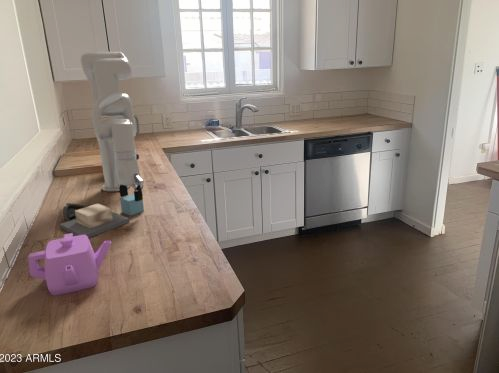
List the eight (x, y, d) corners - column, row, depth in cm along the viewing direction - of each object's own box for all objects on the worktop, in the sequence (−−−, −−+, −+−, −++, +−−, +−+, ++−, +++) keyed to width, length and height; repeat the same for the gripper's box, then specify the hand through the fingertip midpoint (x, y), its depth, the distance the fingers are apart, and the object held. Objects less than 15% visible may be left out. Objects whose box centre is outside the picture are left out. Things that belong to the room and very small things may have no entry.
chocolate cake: (89, 210, 159) (62, 196, 151) (98, 209, 154) (71, 194, 147) (78, 232, 154) (50, 218, 147) (87, 231, 150) (59, 217, 142)
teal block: (134, 207, 159) (133, 193, 157) (143, 211, 155) (142, 196, 153) (121, 212, 155) (120, 198, 153) (130, 215, 151) (129, 201, 149)
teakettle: (73, 260, 119) (65, 222, 115) (119, 269, 113) (113, 230, 109) (24, 291, 104) (14, 249, 100) (75, 303, 98) (66, 259, 94)
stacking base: (105, 212, 155) (103, 198, 153) (129, 222, 145) (127, 207, 143) (60, 227, 142) (57, 212, 140) (83, 239, 132) (80, 223, 130)
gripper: (104, 154, 150) (110, 196, 155) (130, 159, 139) (136, 205, 144) (121, 150, 155) (127, 192, 161) (147, 155, 145) (153, 199, 150)
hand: (131, 198), depth 152 cm, fingers open, 9 cm apart
